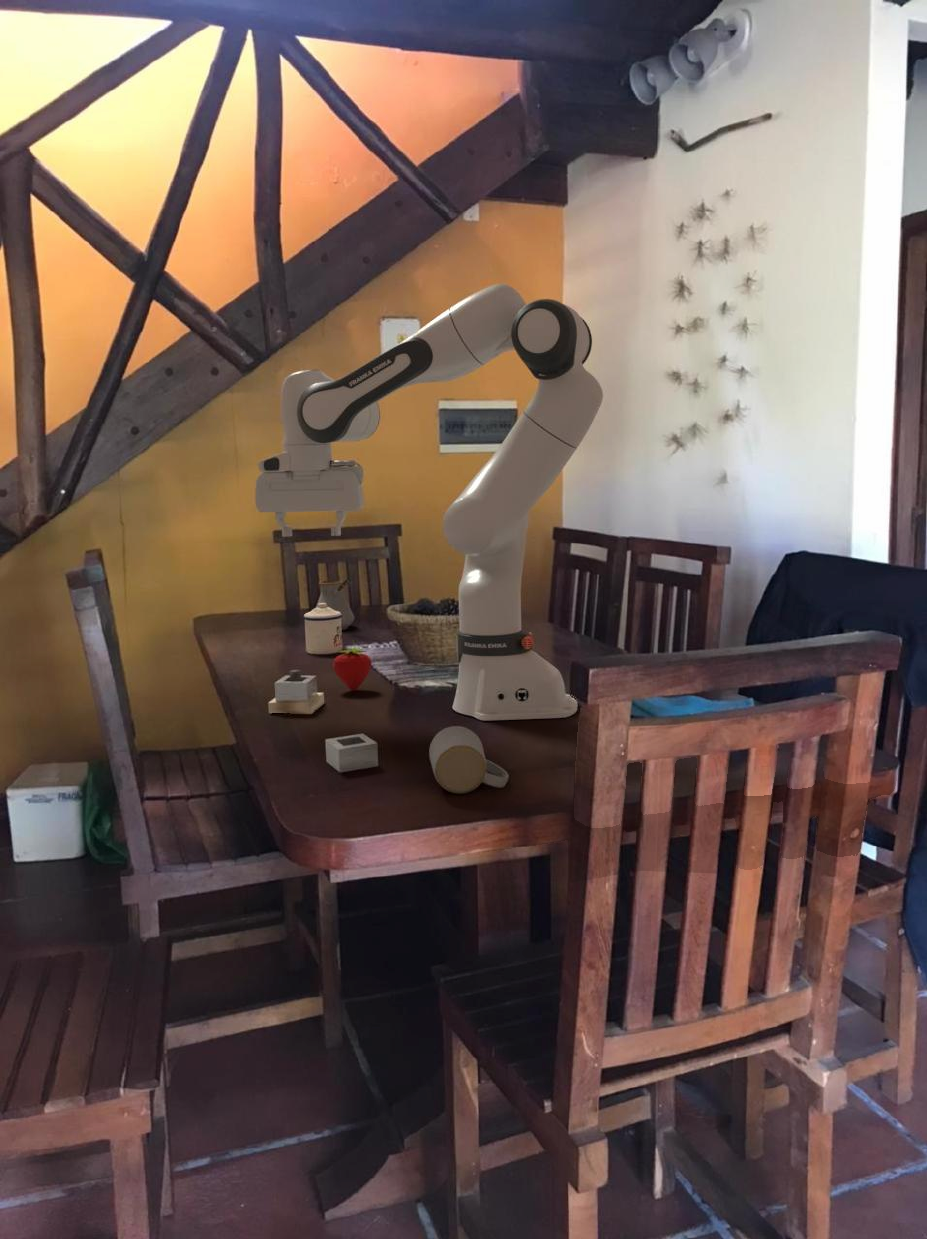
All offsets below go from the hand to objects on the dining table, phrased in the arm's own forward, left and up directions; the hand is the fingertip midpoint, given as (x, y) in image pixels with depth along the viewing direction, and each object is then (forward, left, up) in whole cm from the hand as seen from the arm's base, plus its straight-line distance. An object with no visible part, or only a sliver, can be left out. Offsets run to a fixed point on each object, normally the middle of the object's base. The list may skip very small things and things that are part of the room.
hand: (311, 536), depth 181 cm
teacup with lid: (+13, -47, -31) cm, 58 cm away
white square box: (-17, +40, -31) cm, 53 cm away
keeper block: (+2, +8, -31) cm, 32 cm away
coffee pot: (+17, -73, -31) cm, 81 cm away
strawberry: (-5, -6, -31) cm, 32 cm away
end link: (+2, +8, -29) cm, 30 cm away
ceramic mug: (-36, +48, -31) cm, 68 cm away
